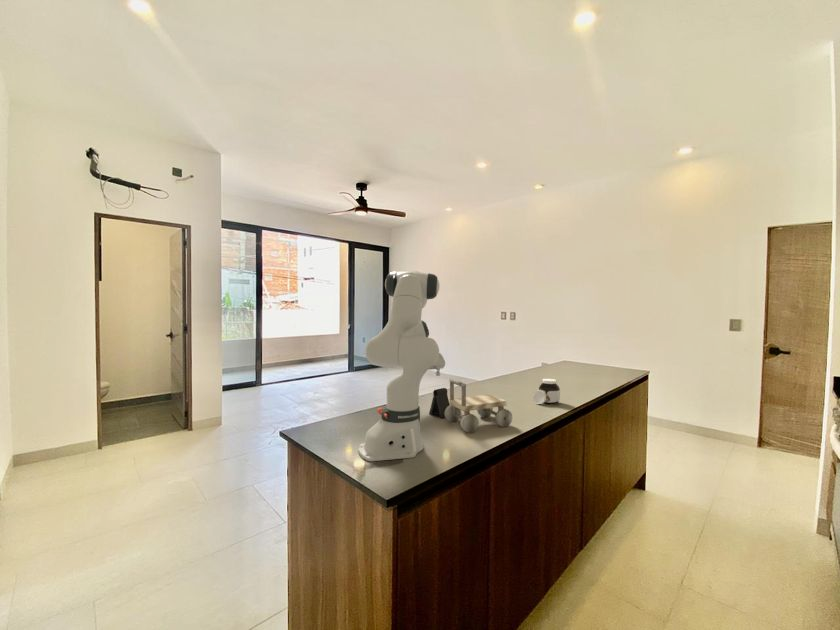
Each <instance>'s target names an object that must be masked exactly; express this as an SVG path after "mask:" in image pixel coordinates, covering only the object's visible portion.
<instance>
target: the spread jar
mask: <svg viewBox="0 0 840 630" xmlns="http://www.w3.org/2000/svg"><path fill="white" fill-rule="evenodd" d="M541 380H542V381H541V384H539V387H538V390H536V391H535V392H534V393H533V395H532V401H533V402H534V403H535V404H536V405H539V404H541V405H543V404H544V403H545V405H549V404H554V405H557V404H558V403H559V402H560V400H561V388H560V387H559V385H558V384H557V383H558V382H557V379H553V378H542V379H541Z"/></svg>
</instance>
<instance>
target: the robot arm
mask: <svg viewBox="0 0 840 630" xmlns="http://www.w3.org/2000/svg"><path fill="white" fill-rule="evenodd" d="M384 287H385V291H386V293H387V295H388V296H390V297H392V304H391V310H390V314H389V319H388V321H387V323H386V324H385V326H384V328H382V330H381V331H380V332H379V333H378V334H377V335H375V336H374V337H371V339H369V341H368V342H367V344H366V346H365V356H366V359H367V361H368V362H369V364H371V365H373V366H377V367H382V368H401V369H403V370H402V374H401V375H399V376H397V377H395V378H393V379H392V380H390V381H389V382H388V384H387V386H386V406H385V408H382V407H378V408H377V410H376V411H377V413H378V415H380V416H381V418H380V419H379V420H378V421H377V422H376V423H375V424H373V425H372V426H371V427H370V428H369V429H368V430H367V431H366V434H365V437H364V442H363V443H360V444H359V445H358V449H357V452H358V454H359V455H360V458H362V459H364V460H366V461H368V462H376V461H377V462H379V461H388V460H389V461H390V460H400V459H411V458H415V457H416V456H417V454H418V453H419V452H421V451H423V449H424V443H423V440H422V434H421V429H420V421H421V409H420V406H419V393H420V384H421V380H422V379H423V377H424V375H425V374H426V373H427V371H429V370H436V371H435V376H436V377H438V376H441V373H440V371H441V370H442V369H444V368H445V366H446V360H445V359H444V356H443V354H442V353H441V352H440V349H439V345H438V343H437V341H436V340H435V339H434V338H431V337H429V336H430V331H429V329H428V325H427V323H426V322H425V321H424V320H422V312H423V311H422V310H423V308H424V307H426V305H427V301H428V300H433V299H435V298H436V297H437V295H438V294H439V291H440V281H439V279H438V276H437V275H435V274H433V273H424V272H420V271H417V270H412V271H391V272H389V273H388V274H387V275H386V279H385V282H384Z"/></svg>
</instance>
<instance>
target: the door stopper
mask: <svg viewBox="0 0 840 630" xmlns="http://www.w3.org/2000/svg"><path fill="white" fill-rule="evenodd" d="M432 394H433V397H432V400H431V404H430V409H429V411H428V412H429V413H428V414H429V415H430V416H433V417H436V418H438V419H442V420H443V419H446V418H445V415H444V413H445V409H446V408H447V407H448V406H449V405H451V404H450V399H449V396H448V389H447V387H443V388H442V387H441V388H437V389H434V390H433V393H432Z"/></svg>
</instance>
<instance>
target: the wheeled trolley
mask: <svg viewBox="0 0 840 630" xmlns="http://www.w3.org/2000/svg"><path fill="white" fill-rule="evenodd" d="M455 385H456V386H459V387H460V388H461V397H459V398H458V397H456V398H455ZM466 395H467V384H466V383H464V382H461V381H459V380H456V379H454V378H450V379H449V404H450V405H449V406H448V407H447V408H446V409H445V413H444V415H445V418H444V419H446V420H447V421H448V422H449V423H456V422H457V421H459V420H460V428H461V429H462V430H463V431H465V432H466V433H468V434H473V433H474V432H476V430H477V429H478V427H479V425H480V424H479V419H478V417H477V416H476V415H474V414H473V413H471V411H477V414H478V415H479V416H480V417H482V418H488V417H490V416H491V415H494V416H495V417H494V420H495V422H496V424H497V425H498V426H500V427H502V428H507V427H508V426H510V425H511V424H512V421H513V413H512V412H511V411H510V410H508V409H506V408H505V406H507V400H505V399H503V398H500V397H498V396H496V395H493V394H483V395H472V396H466ZM494 408H497V411H494ZM462 412H463V413H464V414H463V416H462Z"/></svg>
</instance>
